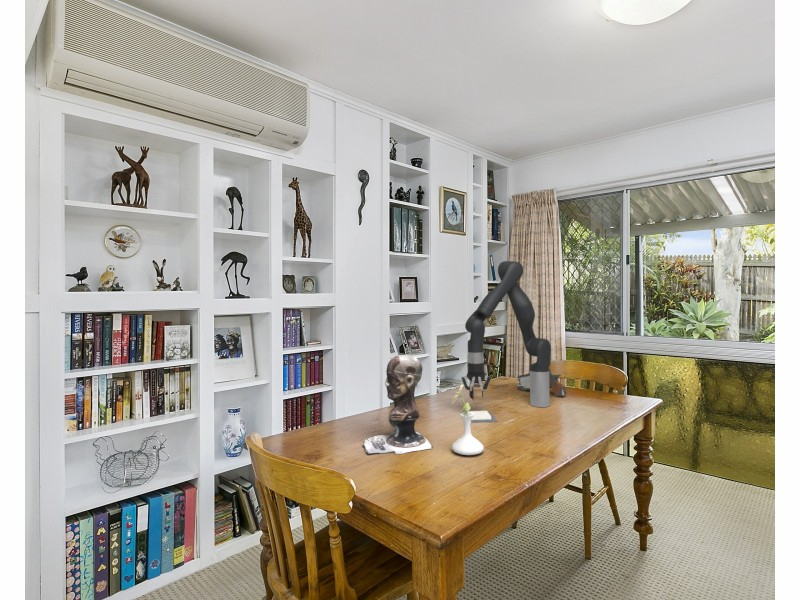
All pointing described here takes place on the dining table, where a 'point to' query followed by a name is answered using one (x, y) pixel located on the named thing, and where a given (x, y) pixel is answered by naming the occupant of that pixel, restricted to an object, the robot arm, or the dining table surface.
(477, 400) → the brown rectangular block
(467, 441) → the flower in vase
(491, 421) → the mat
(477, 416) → the tile
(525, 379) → the gun
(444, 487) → the dining table surface
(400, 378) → the head bust
